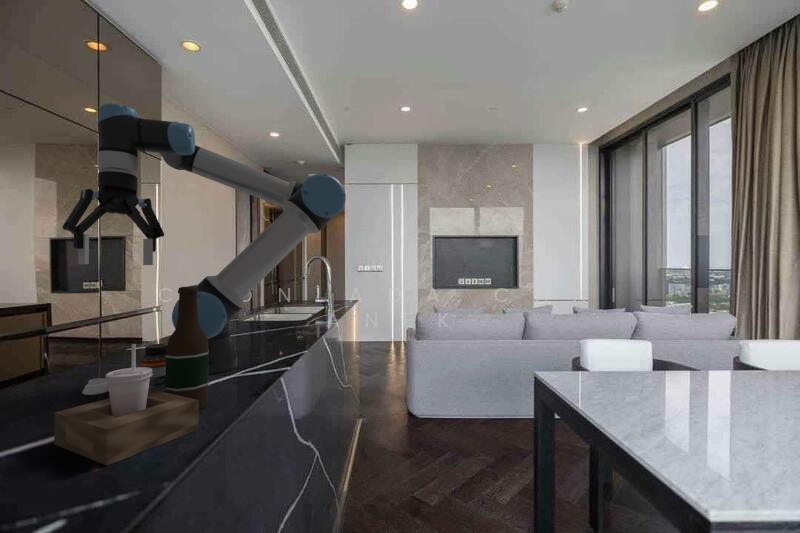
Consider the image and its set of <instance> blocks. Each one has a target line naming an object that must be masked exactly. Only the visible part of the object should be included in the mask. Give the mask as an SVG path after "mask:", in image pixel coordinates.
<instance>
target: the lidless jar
mask: <svg viewBox="0 0 800 533" xmlns="http://www.w3.org/2000/svg"><path fill="white" fill-rule="evenodd" d="M105 379H106V377H98V378H93V379H92V378H91V379H89V380H88V383H87V384H86V385H85V386H84V389H83V390H82V395H84V396H96V395H101V394H105V393H109V388H108V383H107V382H105Z"/></svg>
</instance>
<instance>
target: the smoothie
mask: <svg viewBox="0 0 800 533" xmlns="http://www.w3.org/2000/svg"><path fill="white" fill-rule="evenodd" d="M136 345H137V344H135V343H133V344H131V367H128V368H122V369H115V370H113V371H109V372H108V373H106V374H105V382H107V383H108V388H109V391H108V393H109V398H110V401H111V408H112V415H113V416H114V417H121V416H124V415H127V414H131V413H134V412H137V411H140V410H144V409H146V403H147V396H148V389H149V382H150V377H151V376H152V375H153V374H152V369H151V368H148V367H140V366H139V367H137V364H136V363H137V362H136V361H137V357H136V350H137V346H136Z"/></svg>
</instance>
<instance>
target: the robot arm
mask: <svg viewBox="0 0 800 533" xmlns="http://www.w3.org/2000/svg"><path fill="white" fill-rule="evenodd" d="M138 115H139V114H138V112H137V110H135V109H134V108H132V107H129V106H127V105H122V104H119V103H105V104H102V105H101V106H99V110H98V119H97V120H98V121H97V123H96V124H97V138H98V139H97V141H98V142H97V143H98V146H97V148H98V150H97V169H98V171H99V173H97V188H98V190H97V191H94V190H93V189H91V188H87V189H82V190H81V191H80V197H79V200H78V202H77V203H76V205H75V206H74V207H73V209H72V211H71V212H70V214H69V216H68V217H67V218H66V220H65V221H64V223H63V225H62V229H63V230H64V231H68V232H70V233H71V234H72V235H73V248H74V249H76V250H78V254H77V255H78V258H77V260H78V262H77V264H78V265H89V264H90V257H89V256H90V234H89V233H86V231H87V230H89V228H91V227H92V226H93V225H94V224H95V223H96V222H97V221H98V220H100V218H102V217H103V216H104V215H105V214H107V213H108V214H118V215H121V216H122V215H123V216H124V215H126V216H127V217H129V218H130V219H131V221H132V222H133V223H134V224H135V225H136V227H137V228H138V229H139V230H140V231H141V232H142V233H143V235H144V236H145V237H146V238H143V239H142V241H143V243H142V248H143V249H142V253H143V254H142V255H143V256H142V259H143V260H142V261H143V263H142V265H143V266H154V265H153V263H154V254H153V253H155V252H156V251H157V239H159V238H163V237H164V236H165V233H164V230H163V227H162V226H161V224H160V222H159V220H158V218H157V215H156V213H155V211H154V209H153V207H152V206H153V204H152V200H151V198H148V197H147V198H138V189H139V188H138V187H139V186H138V183H139V182H138V180H139V179H138V177H137V176H136V175H138V173H139V172H138V171H139V170H138V166H139V165H138V164H139V162H138V158H139V157H138V156H139V155H138V154H139V151H140V152H150V153H158V154H159V155H160V156H161V157H162V159H163V160H164V162H165V163H166V164H167V165H168V166H169V167H171V168H173V169H174V170H177V171H186V172H189V173H192V174H195V175H198V176H200V177H203V178H206V179H208V180H211V181H213V182H216V183H219V184H221V185H224V186H227V187H229V188H231V189H234V190H237V191H239V192H242V193H245V194H247V195H250V196H253V197H255V198H258V199H261V200H263V201H266V202H268V203H271V204H274V205H276V206H279V207H281V209H282V210H283V212H282V213H281V214H280V215H279V216H278V217H277V218H276V219H274V221H272V222H271V223H270V224H269V225H268V226H267V227H266V228H265V229H264V230H263V231H262V232H261V233H259V235H257V237H256V238H254V240H252V241H251V242H250V243H249V244H248V245H247V246H246V247H245V248H244V249H243V250H242V251H241V252H239V254H238V255H237V256H236V257H235V258H234V259H233V260H231V262H229V263H228V264H227V265H226V266H225V267H224V268H223V269H222V270H221V271H220V272H219V273H218V274H216V275H206V276H205V278H204V277H203V279H202V280H201V281H200V282H199V283H198V284H193V285H188V286H187V287H197V289H198V293H197V306H198V320H199V325H200V327H201V329H202V330H203V331H204V333H205V335H206V337H207V340H208V349H209V375H211V374H217V373H218V374H219V373H223V372H227V371H230V370H233V369H235V368H237V366H238V357H237V355H236V351H235V348H234V345H233V342H232V340H231V339H232V338H231V329H232V328H231V325H232V324H231V320H232V319H233V318H234V317H235V316H236V315H237V314H238V313H239V312H240V311H241V310H242V309H243V308H244V298H246V296H248V294H249V293H250V292H252V290H253V289H255V287H256V286H257V285H259V284H260V283H261V282H262V281H263V280H264V279H265V278H266V277H267V275H269V274H270V273H271V272H272V271H273V269H275V268H276V267H277V266H278V265H279V264H280V262H282V261H283V259H285V258H286V257H287V256H288V255H290V253H291V252H292V251H293V250H294V249H295V248H296V247H297V246H298V245H299V244H300V243H301V242H302V241H303V240H305V238H306V237H307V236H308V235H309V234H317V233H319V232H320V231H321V230H322V229H323V228H324V227H326V225H327V224H328V223H329V222H330V221H331V220H333V218H334V217H336V216H338V215H339V214H340V213H341V212H342V210H343V208H344V207H345V205H346V196H347V195H346V191H345V188H344V185H343V184H342V183H341V182H340V180H338V179H337V178H336V177H334V176H333V175H331V174H327V173H317V174H314V175H311V176H309V177H308V178H307V179H306V180H304V182H303V183H301V182H299V181H296V180H292V181H291V182H289V181H287V180H285V179H282V178H279V177H277V176H274V175H272V174H269V173H267V172H264V171H262V170H259V169H257V168H254V167H252V166H249V165H246V164H244V163H242V162H239V161H236V160H235V159H232V158H230V157H227V156H224V155H222V154H220V153H218V152H217V153H216V152H215V151H212V150H209V149H207V148H204V147H201V146H198V145H197V144H196V136H195V130H194V128H193V126H192V125H191V124H189V123H185V122H184V123H183V122H179V121H176V120H175V121H169V120H159V119H148V118H142V117H139V116H138ZM95 199H96V200H97V201H98V202H99V205H98V206H96V207H95V208H94V210H93V211H92V212H91V213H89V215H87V217H85V218H84V219H83V220H82V221H80V220H81V219H82V217H83V216H84V214H85V213H86V211H87V209H88V208H89V207H90V204H92V201H94V200H95ZM137 205H138V207H139V208H140V209H141V211H142V214H143V216H144V217H143V216H142V214H141V212H140V210H139V209H138V208H137ZM178 307H179V299H178V300H177V301H176V303H175V304H174V306H173V309H172V313H171V322H172V325H173V327H174V330H175V329H176V326H177V321H178Z"/></svg>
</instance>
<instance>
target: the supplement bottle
mask: <svg viewBox="0 0 800 533" xmlns="http://www.w3.org/2000/svg"><path fill="white" fill-rule="evenodd" d="M167 344H168V343H155V344H149V345H146V346H145V354H144V355H143V356H142V357H141V358H140V360H139V365H140V366H139V367H148V368H151V369H152V374H153V375H152V376H151V377H150V382H149V389H151V390H156V391H160V392H165V393H166V348H167Z"/></svg>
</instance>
